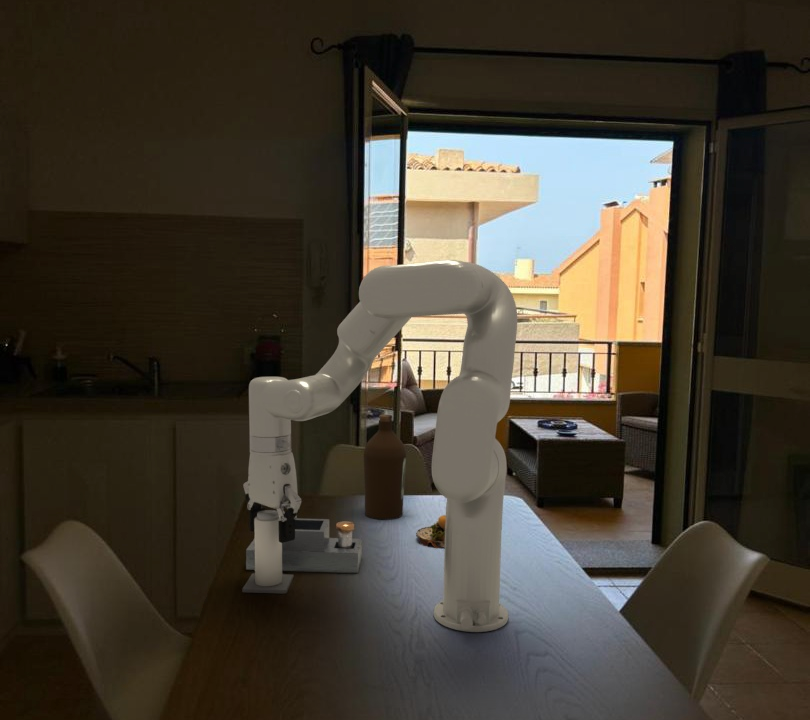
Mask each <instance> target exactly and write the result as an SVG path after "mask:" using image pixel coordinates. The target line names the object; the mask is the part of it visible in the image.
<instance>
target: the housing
mask: <svg viewBox="0 0 810 720" xmlns="http://www.w3.org/2000/svg"><path fill="white" fill-rule="evenodd" d="M362 541H363V539H362V538H352V549H342V548H338V537H330V519H328V518H298V517H297V518H296V519H295V539H294V540H292V541H288V542H284V543H282V572H305V573H306V572H308V573H309V572H311V573H340V574H341V573H343V574H344V573H345V574H348V573H349V574H359V568H360V565H361V561H362V550H363V549H362V547H363V545H362V544H363V543H362ZM245 556H246V557H245V558H246V559H245V570H247V571H255V537H254V538H253V540H252V541H251V542H250V544H249V545H248V546H247V547H246V549H245Z"/></svg>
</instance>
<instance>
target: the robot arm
mask: <svg viewBox="0 0 810 720" xmlns="http://www.w3.org/2000/svg"><path fill="white" fill-rule="evenodd" d="M358 299H359V302H358V303H357V304H356V305H355V306H354V308H352V309H351V311H350V312H349V313H348V314H347V316H345V318H344V319H342V322H341V323H340V324H339V325H338V327H337V330H336V332H337V336H338V345H337V347H336V349H335V351H334V353H333V354H332V355H331V357H330V358H329V359H328V360H327V361H326V363H325V364H324V365H323V367H321V368H320V370H319V371H318V372H317V373H315V374H314V375H309V376H305V377H301V378H295V379H287V378H286V377H283V376H259V377H254V378H253V379H252V380H250V381H249V384H248V415H249V416H248V417H249V419H248V420H249V421H248V422H249V425H248V426H249V461H248V473H247V474H248V475H247V476H248V478H247V481H246V482H244V483H243V489H244V494H245V495H244V496H245V500H246V502H247V506H246V507H247V510H248V524H249V525H248V526H249V527H248V528H249V531H250V532H255V527H254V519H255V517H257V513H258V512H260V511H264V510H266V508H265V507H268V508H271V509H272V510H276V511H277V512H278V514H279V516H280V519H281V520H280V521H279V542H280V543H284V542H288V541H292V540H294V539H295V519H296V518H298V517H297V516H298V515H299V513H300V507H301V505H302V498H301V497H300V495H298V482H297V481H298V480H297V470H296V462H295V457H294V454H293V453H294V452H292V422H291V421H295V422H304V421H308V420H312V419H314V418H317V417H320V416H321V417H322V416H324V415H327V414H330V413H331V412H334V411H335V410H336V409H337V408H338V407H340V406H341V405H342V404H343V402H345V400H346V399H347V398H348V397H349V396H350V395H351V394H352V393H353V392H354V390H355V389H356V388H357V387H358V386H359V385H360V383H361V382H362V381H363V379H364V378H365V376H366V375H367V373H368V372H369V370H370V369H371V367H372V365H373V363H374V361H375V359H376V358H377V356H378V355H380V353H381V352H382V351H383V349H384V348H385V347H387V346H388V344H389V343H390V342H391V341H392V340H393V339H394V338H395V337H396V335H398V333H399V332H400V331H401V330H402V329H403V328H404V327H405V326H406V324H407V323H408V322H409V321H410V320H411V318H416V317H427V316H428V317H429V316H444V315H464V316H466V321H467V327H466V331H465V336H464V341H463V345H462V357H461V358H462V359H461V362H460V363H461V364H460V365H461V366H460V371H459V375H458V376H456V377H454V378H452V379H451V380H450V381H449V382H448V383H447V385H446V386H445V387H444V389H443V391H442V393H441V395H440V399H439V402H438V407H437V413H436V422H435V423H436V424H435V429H434V438H433V439H434V440H433V449H432V456H431V476H432V481H433V483H434V486H435V488H436V489H437V490H438V493H440V494H441V495H442V497H444V498H445V499H446V503H445V505H446V507H445V515H446V520H445V546H444V552H443V553H444V555H443V556H444V557H443V558H444V561H443V594H442V595H443V598H442V600H441V601H439V602H438V603H437V604H435V605H434V608H433V616H434V617H433V618H434V619H435V620H436V621H437V622H438V624H441V625H442V626H444V627H446V628H449V629H452V630H455V631H460V632H468V633H469V632H470V633H482V632H483V633H484V632H485V633H486V632H491V631H495V630H498V629H500V628H503V626H505V625H507V622H508V620H509V611H508V610H507V608H506V607H505V606H504V605H502V604H501V603H500V592H501V589H500V588H501V587H500V586H501V584H500V583H501V557H502V556H501V554H502V529H503V512H504V511H503V509H504V496H505V487H506V479H507V469H508V467H507V457H506V452H505V450H504V448H503V446H502V445H501V443H500V441H499V440H498V439H497V438H496V433H497V427H498V423H499V422H500V421H501V420H502V419H504V417H506V415H507V412H508V411H509V408H510V402H511V389H512V382H513V381H512V379H513V373H514V366H515V365H514V363H515V352H516V351H515V350H516V341H517V334H518V333H517V331H518V310H517V305H516V301H515V298H514V296H513V294H512V292H511V290H510V288H509V287H508V285H507V284H506V282H505V281H504V280H502V278H501V277H499V276H498V275H497V274H495V272H493V271H492V270H491V269H490V270H489V269H488V268H486V267H485V266H482V265H479V264H477V263H475V262H474V263H473V262H468V261H461V260H456V259H446V260H435V261H425V262H416V263H415V262H413V263H405V264H394V265H393V264H391V265H381V266H378V267H374V268H373V269H371V270H370V271H368V273H366V274H365V276H364V277H363V279H362V280H361V282H360V285H359V289H358ZM263 506H264V507H263ZM284 509H286V511H285V510H284Z"/></svg>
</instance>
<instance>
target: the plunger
mask: <svg viewBox="0 0 810 720" xmlns="http://www.w3.org/2000/svg"><path fill="white" fill-rule="evenodd" d="M335 530H336V531H337V538H338V548H342V549H352V539H353V531H354V530H355V522H353V521H347V520H344V521H339V522H337V523H336V529H335Z"/></svg>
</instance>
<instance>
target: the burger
mask: <svg viewBox="0 0 810 720" xmlns="http://www.w3.org/2000/svg"><path fill="white" fill-rule="evenodd" d="M437 519H438V520H437V521H436V522H435V523H433V524H432V525H430V526H425V527H422V528H419V529H418V530H417V531H416V533H415V535H416V537H417V538H419V542H420V545H422V546H426V547H429V543H431V545H432V546H433V547H434V548H435V549H440V548H441V549H444V548H445V520H446V514H444V515H440V516H439V517H438V518H437Z"/></svg>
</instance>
